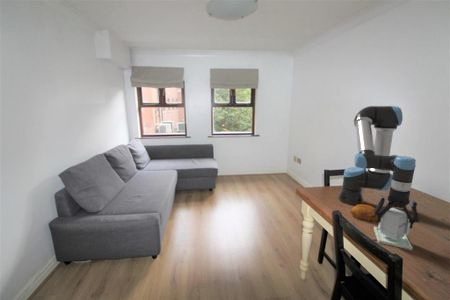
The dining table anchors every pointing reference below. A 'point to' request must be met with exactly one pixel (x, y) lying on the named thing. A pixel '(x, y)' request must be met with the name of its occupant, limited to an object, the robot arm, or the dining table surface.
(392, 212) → the supplement box
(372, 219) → the croissant
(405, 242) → the pale green square tray
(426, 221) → the dining table surface
